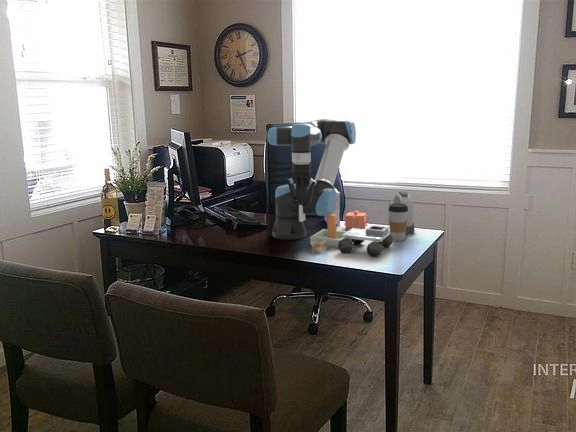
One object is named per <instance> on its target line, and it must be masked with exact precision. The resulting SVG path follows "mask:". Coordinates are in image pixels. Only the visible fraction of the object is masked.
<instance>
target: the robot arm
mask: <svg viewBox="0 0 576 432" xmlns="http://www.w3.org/2000/svg"><path fill="white" fill-rule="evenodd" d="M266 138H267V142H268V144H269V145H271V146H291V162H292V166H291V172H292V173H291V177H290V178H288V179H287V180H285V181H286V182H285V183H287V184H283V185H279V186H277V187H276V189H275V196H274V198H275V222H274V225H273V228H272V237H273V238H275V239H277V240H285V241H288V240H289V241H292V240H299V239H303V238H305V237H307V229H306V226H305V224H304V221H306V215H311V216H312V215H313V216H319V217H321V216H322V217H323V216H324V215H329V214H331V213H332V212H333V211H334V209H335V207H336V203H337V202H336V201H337V193H336V191H335V188H336V187H335V186H334V185H335V181H336V178H337V175H338V172H339V168H340V165H341V162H342V158H343V156H344V153H345V151H347V150H348V149H349V147H350V145H353V144H355V143H356V140H357V131H356V125H355V122H354V120H353V119H349V118H344V119H343V118H339V119H337V118H330V119H329V118H322V119H321V118H320V119H316V120H311V121H306V122H304V123H293V124H292V125H290V126H281V127H280V126H279V127H277V126H275V127H274V126H273V127H270V128H269V129H268V130H267V137H266ZM318 144H325V149H324V151H323V154H322V158H321V161H320V164H319V167H318V170H317V173H316V176H315V178H314V179H313V177H312V164H311V162H312V154H311V152H312V151H311V148H312V147H313V146H317V145H318Z"/></svg>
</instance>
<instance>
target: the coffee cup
mask: <svg viewBox="0 0 576 432" xmlns="http://www.w3.org/2000/svg"><path fill="white" fill-rule="evenodd" d="M407 214H408V207H407V205H406V204H400V203H395V204H393V203H391V204H389V207H388V221H389V223H388V225H389V226H388V227H389V232H390V235H391V236H392V237H393V241H394V240H395V241H396V242H401V241H405V239H406V227H407Z"/></svg>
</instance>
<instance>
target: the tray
mask: <svg viewBox="0 0 576 432" xmlns="http://www.w3.org/2000/svg"><path fill="white" fill-rule="evenodd" d="M346 232H347V231H346V230H345V231H344V230H336V239H332V238H328V229H324V228H323V229H321V230H320V231H318V232H316V233H315V234H313V235H311V236H309V239H310V240H309V244H310V246H312V242H314V241H316V240H317V239H321V240H327V248H333V249H334V248H335V249H339V248H338V243H339V241H341V240H342V239H344V238H342V234H344V233H346ZM348 239H350V238H348ZM350 240H351V239H350Z"/></svg>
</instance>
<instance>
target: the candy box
mask: <svg viewBox="0 0 576 432" xmlns="http://www.w3.org/2000/svg"><path fill="white" fill-rule="evenodd" d="M334 188H335V191H336V193H337V201H336V202H337V203H336V207H335V209H334V211H333V212H332V213H331V214H335V215H336V227H339V226H340V225H341V224H340V222H341V219H340V218H341V216H340V215H341V192H340V191H338V189H337V188H336V187H334ZM323 216H324V218H323V219H324V221H325V223H326V224H327V215H323Z"/></svg>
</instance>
